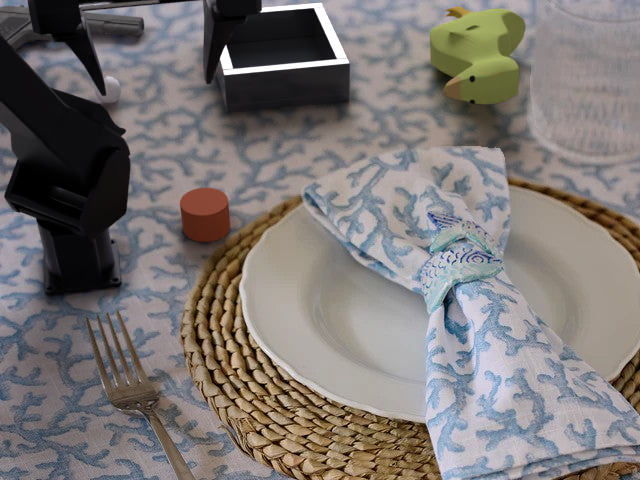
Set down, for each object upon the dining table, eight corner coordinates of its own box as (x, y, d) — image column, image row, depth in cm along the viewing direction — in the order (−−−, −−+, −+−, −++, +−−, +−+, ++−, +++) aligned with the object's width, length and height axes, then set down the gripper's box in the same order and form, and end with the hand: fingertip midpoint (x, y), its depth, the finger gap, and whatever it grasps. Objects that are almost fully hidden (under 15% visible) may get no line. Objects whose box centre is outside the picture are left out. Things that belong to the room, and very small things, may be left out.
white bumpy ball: (113, 110, 109) (109, 86, 107) (90, 104, 110) (85, 80, 108) (128, 97, 111) (124, 73, 109) (105, 92, 112) (101, 68, 110)
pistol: (116, 58, 114) (146, 12, 122) (-41, 44, 115) (-1, -1, 124) (118, 74, 115) (148, 27, 124) (-37, 60, 116) (3, 14, 125)
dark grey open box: (349, 100, 112) (350, 63, 109) (227, 113, 109) (224, 75, 106) (321, 38, 122) (321, 2, 119) (209, 48, 120) (206, 12, 117)
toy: (373, 15, 117) (455, 71, 102) (498, -14, 121) (595, 36, 107) (376, 67, 121) (456, 128, 106) (498, 37, 125) (591, 92, 110)
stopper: (233, 238, 94) (231, 212, 92) (185, 244, 93) (182, 218, 91) (226, 211, 97) (224, 185, 95) (180, 216, 96) (177, 190, 94)
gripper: (233, -135, 87) (242, 36, 98) (7, -121, 83) (43, 57, 94) (259, -88, 79) (266, 93, 90) (12, -70, 75) (50, 117, 86)
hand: (156, 87), depth 90 cm, fingers open, 9 cm apart
